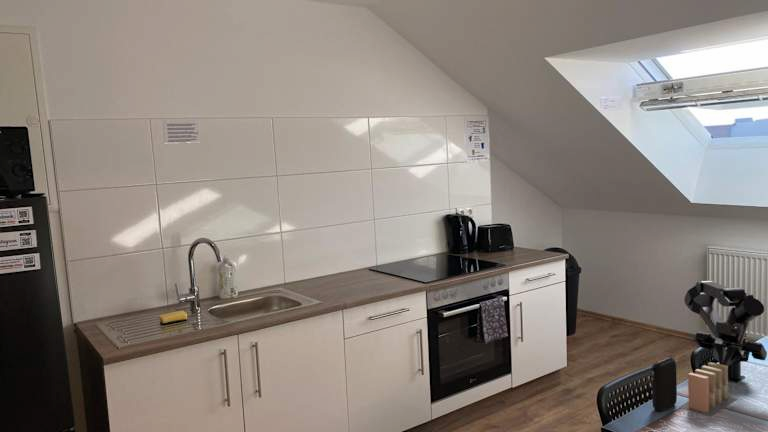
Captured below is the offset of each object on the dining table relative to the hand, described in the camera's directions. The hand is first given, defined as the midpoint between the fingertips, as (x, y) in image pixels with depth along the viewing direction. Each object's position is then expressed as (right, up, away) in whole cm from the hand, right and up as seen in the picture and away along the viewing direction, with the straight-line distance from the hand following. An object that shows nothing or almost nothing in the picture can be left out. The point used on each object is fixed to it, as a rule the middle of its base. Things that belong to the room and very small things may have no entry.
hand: (721, 369), depth 178 cm
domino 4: (-1, -8, 0) cm, 8 cm away
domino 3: (-4, -9, -2) cm, 10 cm away
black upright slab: (-19, -10, -5) cm, 23 cm away
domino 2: (-7, -9, -4) cm, 12 cm away
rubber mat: (-6, -9, -3) cm, 11 cm away
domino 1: (-10, -10, -7) cm, 16 cm away
